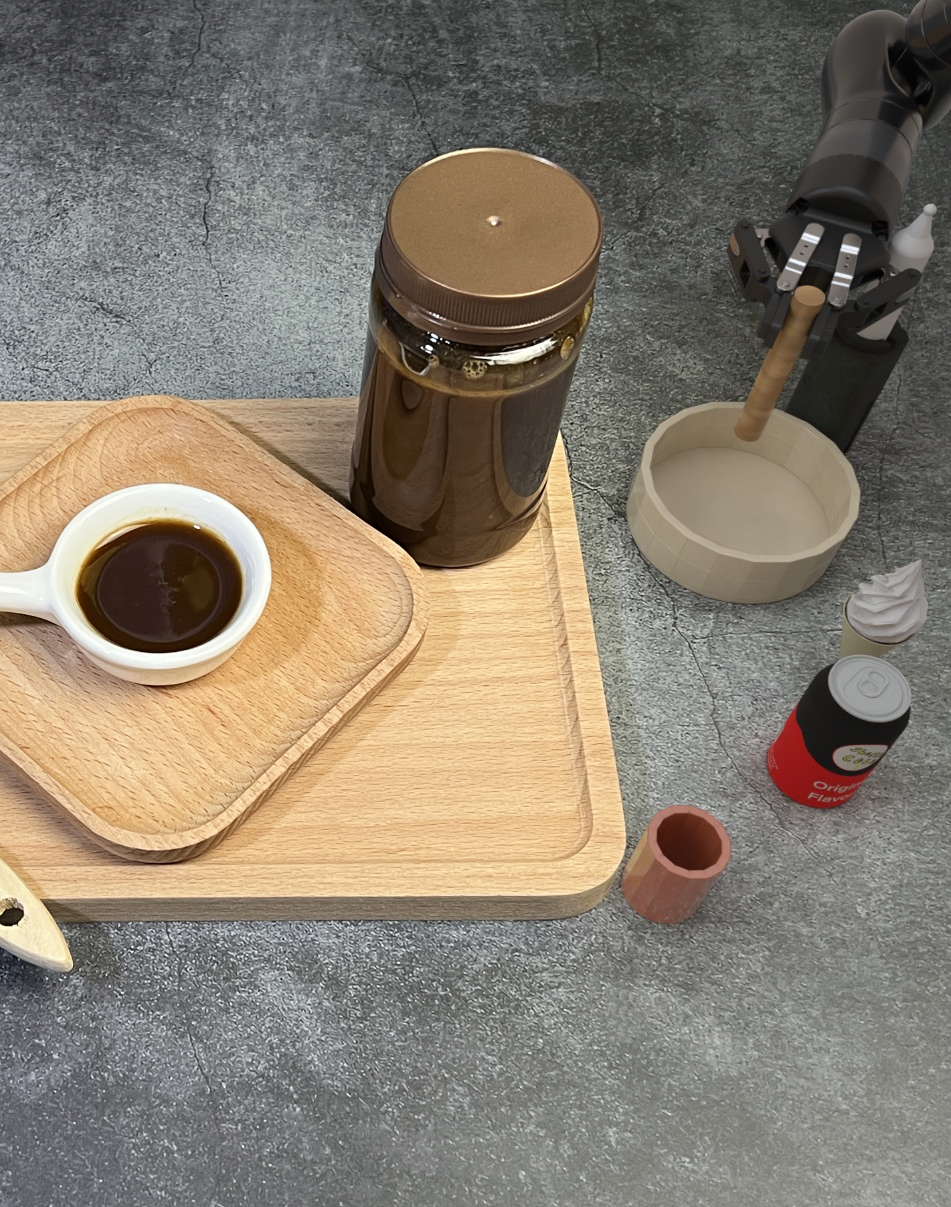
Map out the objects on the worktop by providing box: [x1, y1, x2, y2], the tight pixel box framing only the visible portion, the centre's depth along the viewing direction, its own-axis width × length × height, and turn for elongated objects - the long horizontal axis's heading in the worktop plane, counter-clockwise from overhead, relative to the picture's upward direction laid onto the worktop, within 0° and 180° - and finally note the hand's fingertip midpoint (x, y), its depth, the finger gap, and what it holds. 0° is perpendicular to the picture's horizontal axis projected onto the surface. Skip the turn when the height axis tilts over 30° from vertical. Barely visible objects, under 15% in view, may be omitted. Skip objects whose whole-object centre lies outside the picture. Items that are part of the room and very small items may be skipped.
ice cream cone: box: [837, 558, 929, 662], centre depth 102 cm, size 5×5×15 cm
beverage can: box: [766, 655, 912, 809], centre depth 98 cm, size 6×6×12 cm
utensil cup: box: [621, 804, 732, 925], centre depth 95 cm, size 5×5×8 cm
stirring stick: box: [734, 286, 825, 442], centre depth 104 cm, size 2×2×14 cm
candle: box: [784, 203, 937, 455], centre depth 111 cm, size 5×5×25 cm
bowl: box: [625, 401, 861, 605], centre depth 114 cm, size 16×16×6 cm
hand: (790, 344), depth 98 cm, fingers closed on stirring stick, 2 cm apart
